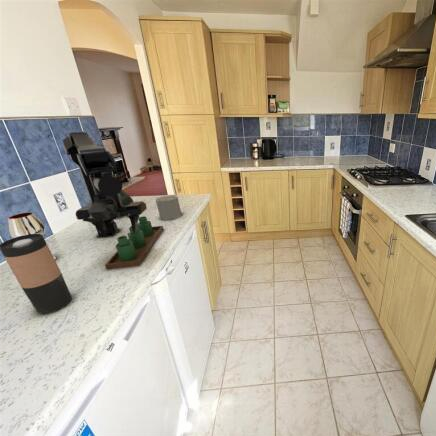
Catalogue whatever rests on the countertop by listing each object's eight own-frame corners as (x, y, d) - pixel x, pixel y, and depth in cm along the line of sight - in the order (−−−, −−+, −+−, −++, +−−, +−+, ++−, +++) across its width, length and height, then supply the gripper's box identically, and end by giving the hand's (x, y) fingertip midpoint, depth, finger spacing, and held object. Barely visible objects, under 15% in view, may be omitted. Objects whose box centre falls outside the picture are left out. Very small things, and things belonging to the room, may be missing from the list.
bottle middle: (129, 250, 93) (123, 230, 89) (134, 244, 97) (128, 225, 94) (143, 249, 94) (137, 229, 90) (148, 242, 98) (142, 223, 95)
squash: (89, 207, 123) (95, 187, 115) (118, 199, 136) (125, 181, 128) (108, 227, 122) (115, 209, 115) (135, 217, 135) (143, 200, 127)
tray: (106, 269, 81) (104, 264, 81) (139, 231, 108) (137, 228, 107) (139, 265, 83) (138, 260, 82) (163, 229, 109) (162, 225, 109)
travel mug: (51, 296, 70) (19, 234, 62) (79, 294, 70) (51, 232, 62) (27, 316, 63) (-13, 249, 55) (58, 313, 63) (23, 247, 55)
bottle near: (139, 239, 101) (133, 220, 98) (143, 233, 106) (138, 215, 103) (151, 237, 102) (146, 219, 99) (155, 232, 107) (150, 214, 103)
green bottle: (118, 263, 84) (110, 241, 81) (124, 255, 89) (117, 235, 85) (133, 261, 85) (126, 240, 81) (139, 254, 89) (132, 233, 86)
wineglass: (64, 257, 89) (43, 212, 82) (37, 270, 82) (11, 221, 75) (50, 254, 91) (28, 210, 84) (22, 266, 84) (-4, 219, 77)
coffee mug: (182, 217, 122) (178, 198, 118) (160, 221, 117) (155, 202, 113) (179, 209, 133) (175, 192, 129) (159, 213, 128) (154, 195, 124)
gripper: (54, 199, 68) (75, 248, 74) (127, 194, 71) (141, 241, 77) (78, 189, 78) (94, 232, 84) (141, 184, 81) (152, 226, 87)
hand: (120, 233), depth 83 cm, fingers open, 9 cm apart
